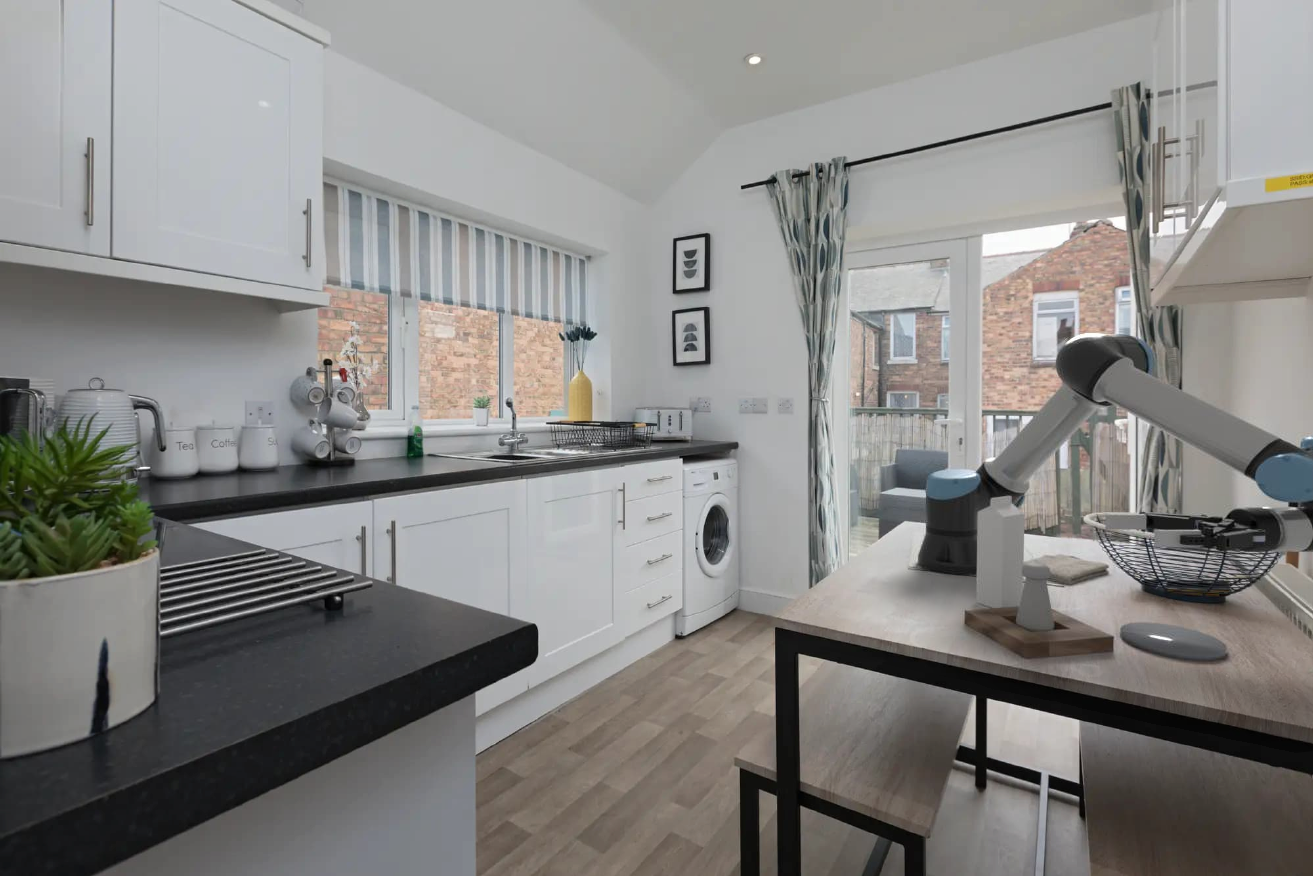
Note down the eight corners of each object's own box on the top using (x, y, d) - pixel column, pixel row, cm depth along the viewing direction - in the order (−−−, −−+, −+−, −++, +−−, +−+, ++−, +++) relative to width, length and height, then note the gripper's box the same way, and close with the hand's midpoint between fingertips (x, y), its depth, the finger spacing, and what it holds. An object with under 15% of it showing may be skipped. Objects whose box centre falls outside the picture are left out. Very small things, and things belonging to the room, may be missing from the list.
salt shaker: (1059, 643, 109) (1061, 569, 108) (1022, 641, 110) (1024, 568, 109) (1045, 631, 114) (1047, 560, 113) (1010, 629, 115) (1012, 559, 114)
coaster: (1100, 630, 114) (1100, 625, 114) (1168, 625, 116) (1168, 619, 116) (1174, 663, 100) (1174, 657, 100) (1250, 656, 102) (1250, 650, 102)
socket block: (964, 623, 119) (964, 610, 119) (1041, 617, 121) (1042, 604, 121) (1025, 658, 103) (1026, 643, 103) (1113, 651, 105) (1113, 636, 105)
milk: (1022, 607, 127) (1026, 498, 125) (1001, 611, 125) (1005, 500, 123) (995, 598, 133) (998, 493, 131) (974, 602, 130) (977, 495, 128)
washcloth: (1111, 574, 149) (1112, 561, 148) (1070, 587, 140) (1070, 574, 139) (1058, 562, 159) (1058, 550, 159) (1016, 574, 150) (1017, 561, 150)
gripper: (1333, 571, 95) (1179, 570, 98) (1209, 535, 120) (1088, 535, 123) (1335, 522, 95) (1181, 522, 97) (1210, 495, 120) (1089, 496, 122)
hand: (1129, 529), depth 110 cm, fingers open, 13 cm apart
